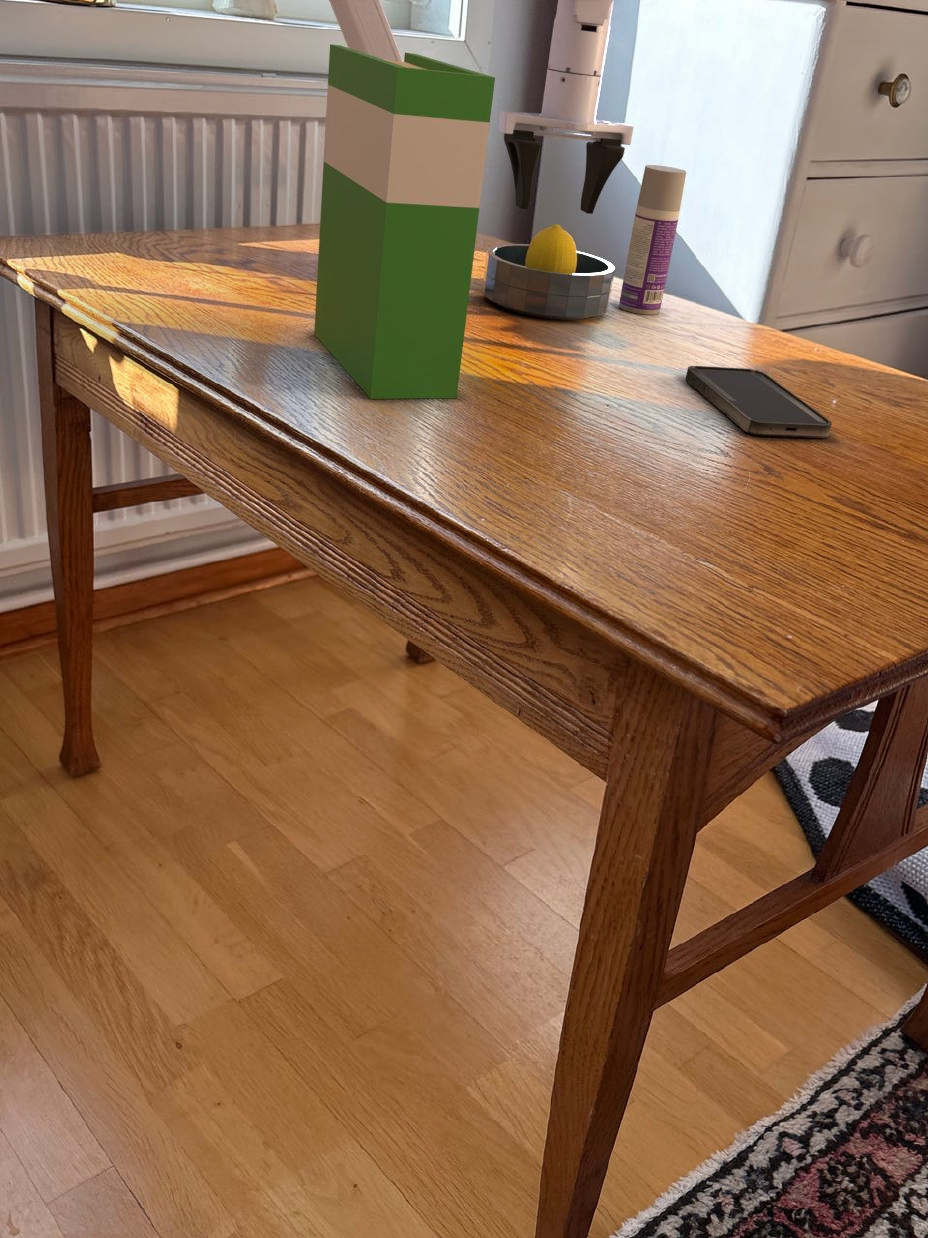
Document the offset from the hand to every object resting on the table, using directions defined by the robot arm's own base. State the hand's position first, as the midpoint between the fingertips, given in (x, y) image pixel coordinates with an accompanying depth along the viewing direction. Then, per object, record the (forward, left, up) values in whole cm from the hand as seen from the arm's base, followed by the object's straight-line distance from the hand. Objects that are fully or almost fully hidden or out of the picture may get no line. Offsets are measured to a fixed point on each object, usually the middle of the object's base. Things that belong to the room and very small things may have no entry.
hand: (554, 209), depth 123 cm
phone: (+24, -28, -9) cm, 38 cm away
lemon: (+1, -4, -9) cm, 10 cm away
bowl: (+1, -4, -9) cm, 10 cm away
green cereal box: (-8, -35, -10) cm, 38 cm away
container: (+11, +2, -10) cm, 15 cm away
